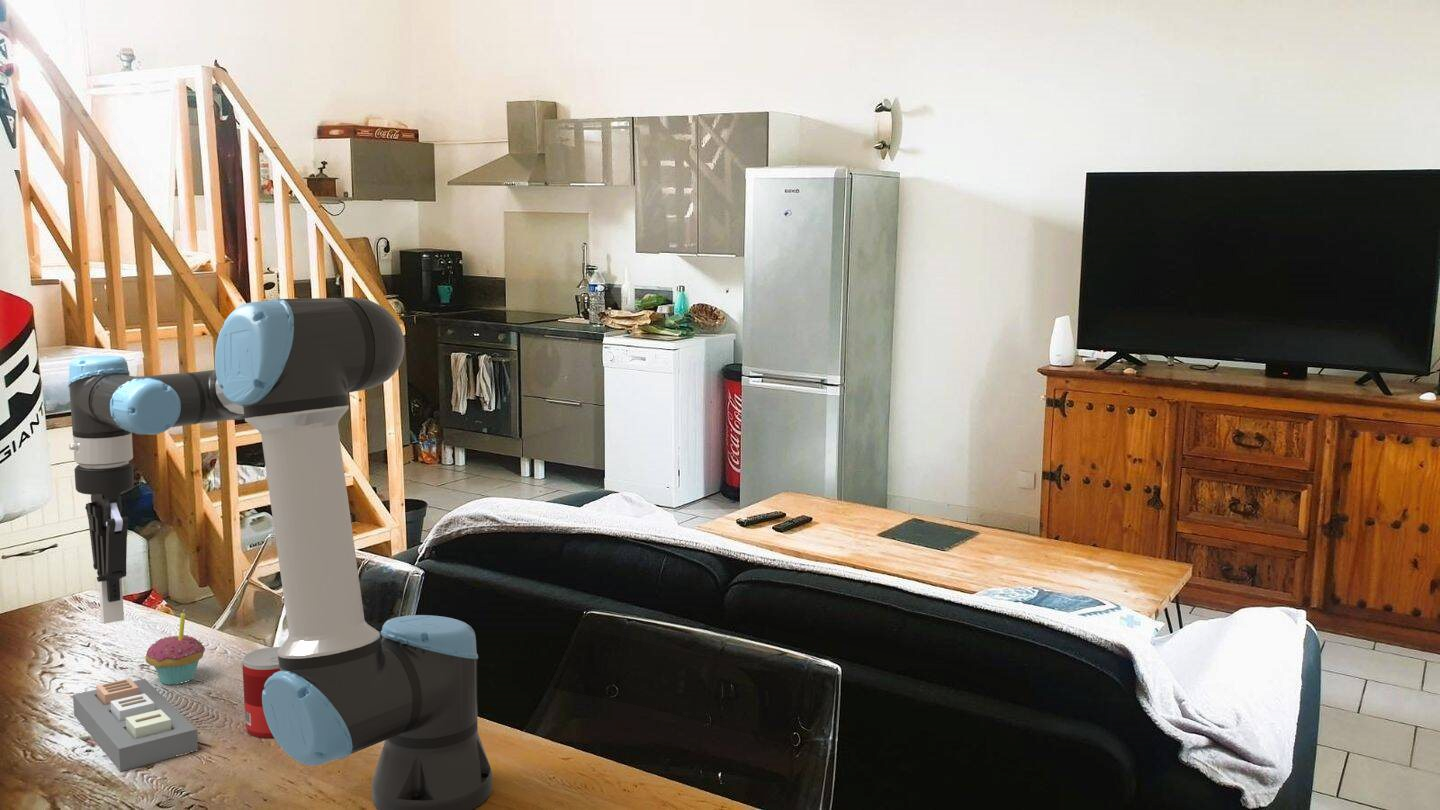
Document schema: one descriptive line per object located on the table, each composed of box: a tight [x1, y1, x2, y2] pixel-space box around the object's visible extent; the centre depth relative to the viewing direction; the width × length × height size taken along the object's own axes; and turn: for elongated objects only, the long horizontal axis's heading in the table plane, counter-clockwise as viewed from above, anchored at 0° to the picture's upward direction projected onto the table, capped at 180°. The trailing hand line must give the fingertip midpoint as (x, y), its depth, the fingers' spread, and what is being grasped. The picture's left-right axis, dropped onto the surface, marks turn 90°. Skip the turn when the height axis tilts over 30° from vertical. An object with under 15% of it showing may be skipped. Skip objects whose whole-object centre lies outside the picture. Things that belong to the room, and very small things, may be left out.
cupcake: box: [144, 608, 206, 685], centre depth 188 cm, size 9×8×12 cm
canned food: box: [242, 646, 281, 739], centre depth 171 cm, size 8×8×11 cm
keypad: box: [72, 678, 199, 773], centre depth 169 cm, size 24×10×3 cm, turn 42°
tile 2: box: [110, 693, 155, 722], centre depth 169 cm, size 5×5×2 cm
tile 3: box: [95, 678, 139, 705], centre depth 174 cm, size 5×5×2 cm
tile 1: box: [126, 709, 172, 739], centre depth 163 cm, size 5×5×2 cm
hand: (112, 620), depth 173 cm, fingers closed
